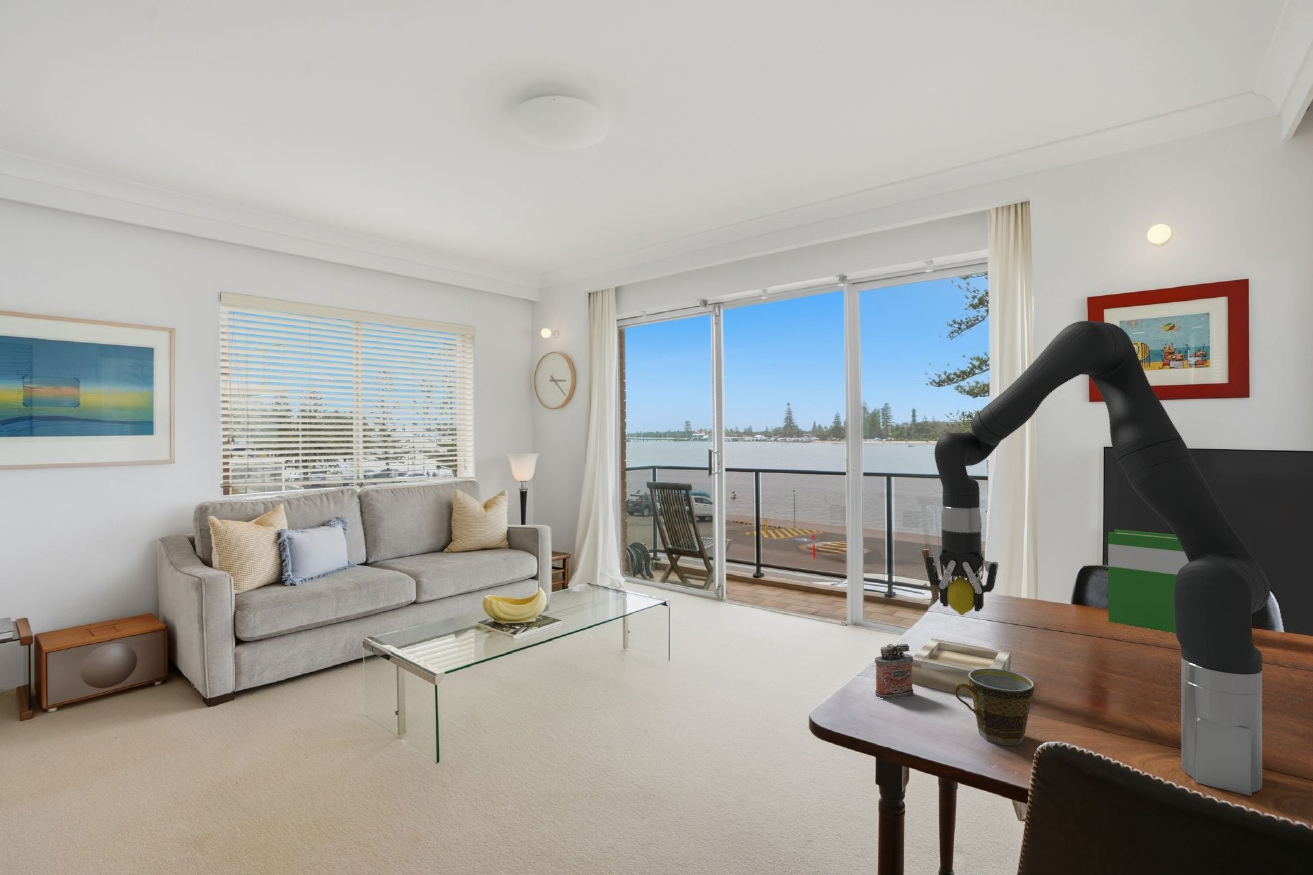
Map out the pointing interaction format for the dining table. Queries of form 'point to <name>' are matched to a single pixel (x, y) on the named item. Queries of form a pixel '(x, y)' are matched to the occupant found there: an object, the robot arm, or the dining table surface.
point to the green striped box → (1143, 578)
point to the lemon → (961, 595)
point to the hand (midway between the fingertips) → (961, 608)
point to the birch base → (947, 678)
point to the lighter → (894, 672)
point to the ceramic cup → (999, 704)
